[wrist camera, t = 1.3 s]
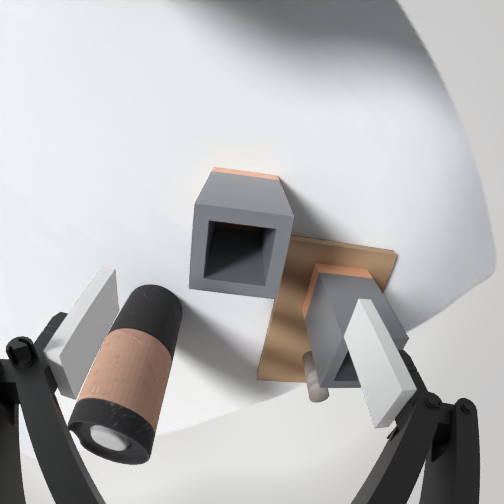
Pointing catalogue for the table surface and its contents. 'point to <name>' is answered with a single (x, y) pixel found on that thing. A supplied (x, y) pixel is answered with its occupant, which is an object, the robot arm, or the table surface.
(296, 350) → the pinboard
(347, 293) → the seated sleeve
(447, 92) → the table surface
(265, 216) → the banded sleeve
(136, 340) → the travel mug
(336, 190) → the table surface
